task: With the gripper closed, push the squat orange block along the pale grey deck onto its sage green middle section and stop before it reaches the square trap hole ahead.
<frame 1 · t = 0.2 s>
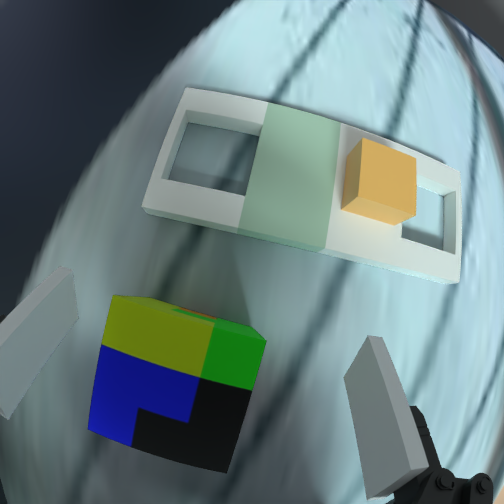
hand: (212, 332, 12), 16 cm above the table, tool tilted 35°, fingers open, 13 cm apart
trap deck: (326, 187, 31), on the table
orange block: (371, 190, 28), point 2 cm above the table, touching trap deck
puzzle toy: (186, 362, 27), on the table
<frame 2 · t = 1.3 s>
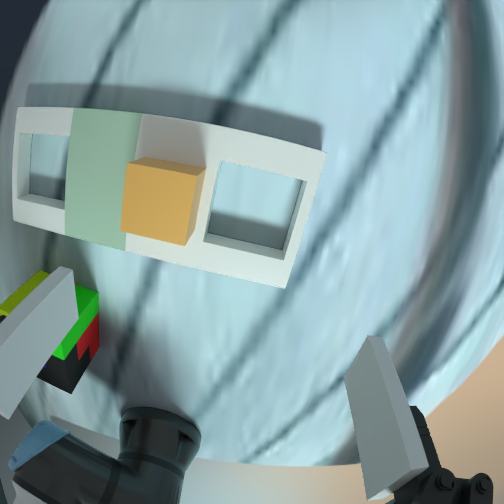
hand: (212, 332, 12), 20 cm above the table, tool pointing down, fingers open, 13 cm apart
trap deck: (140, 180, 29), on the table
orange block: (169, 193, 27), point 2 cm above the table, touching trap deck
puzzle toy: (69, 309, 37), on the table
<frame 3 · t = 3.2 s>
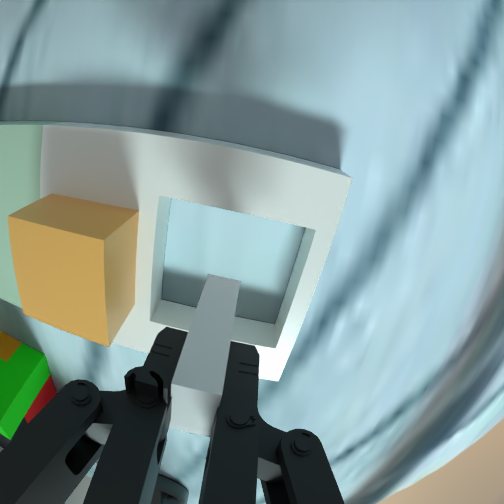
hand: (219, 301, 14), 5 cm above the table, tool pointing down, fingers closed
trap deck: (62, 223, 18), on the table
orange block: (91, 250, 16), point 2 cm above the table, touching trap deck
puzzle toy: (22, 365, 26), on the table
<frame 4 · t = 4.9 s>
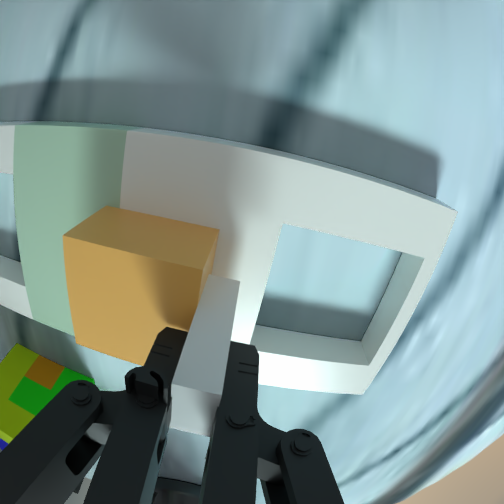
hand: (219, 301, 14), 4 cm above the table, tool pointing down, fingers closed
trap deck: (135, 243, 18), on the table
orange block: (154, 269, 15), point 2 cm above the table, touching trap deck
puzzle toy: (61, 388, 26), on the table
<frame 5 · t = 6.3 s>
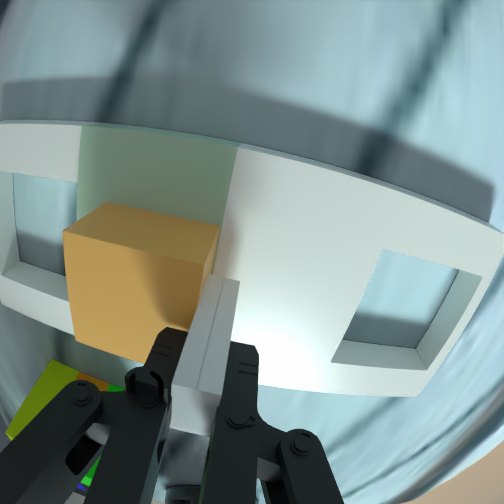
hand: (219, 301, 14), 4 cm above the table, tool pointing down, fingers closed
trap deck: (218, 262, 18), on the table
orange block: (155, 266, 15), point 2 cm above the table, touching gripper, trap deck
puzzle toy: (100, 403, 26), on the table
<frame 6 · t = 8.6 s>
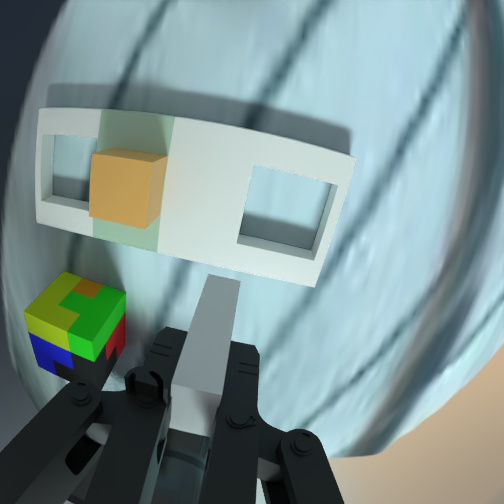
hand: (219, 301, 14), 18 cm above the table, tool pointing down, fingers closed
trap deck: (171, 182, 30), on the table
orange block: (135, 180, 28), point 2 cm above the table, touching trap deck
puzzle toy: (94, 309, 39), on the table
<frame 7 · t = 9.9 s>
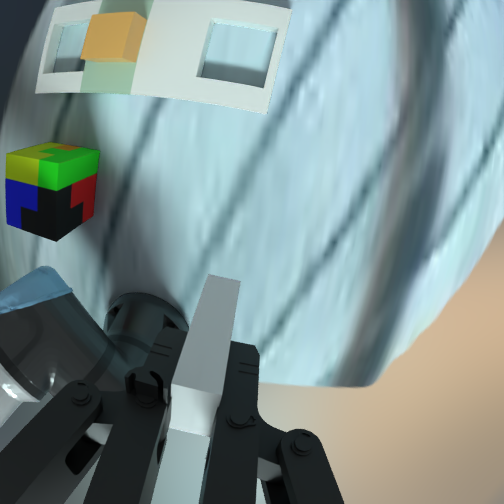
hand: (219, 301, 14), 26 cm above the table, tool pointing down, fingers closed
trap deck: (148, 46, 31), on the table
orange block: (120, 40, 28), point 2 cm above the table, touching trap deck
puzzle toy: (70, 177, 39), on the table
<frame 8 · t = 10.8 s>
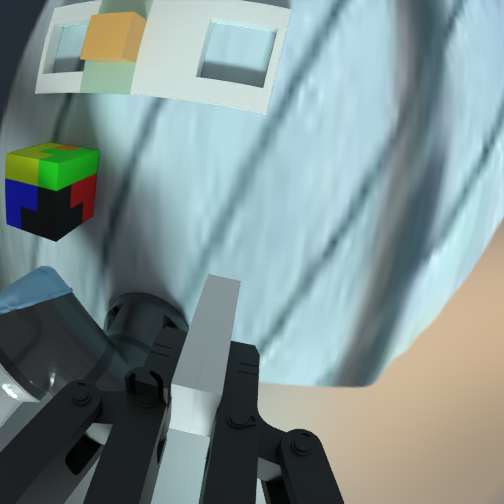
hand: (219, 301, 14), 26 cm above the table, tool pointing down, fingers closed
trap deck: (148, 46, 31), on the table
orange block: (120, 41, 28), point 2 cm above the table, touching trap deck
puzzle toy: (70, 177, 39), on the table
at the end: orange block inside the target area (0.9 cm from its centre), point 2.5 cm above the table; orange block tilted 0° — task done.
